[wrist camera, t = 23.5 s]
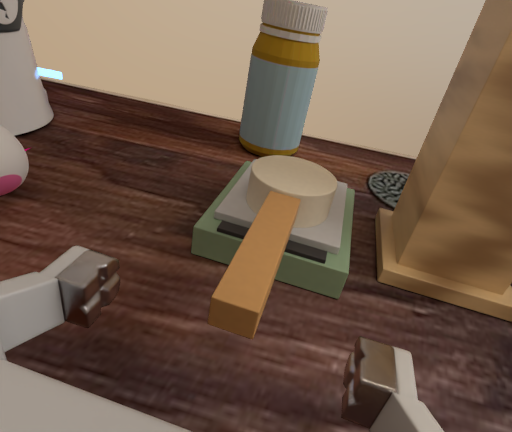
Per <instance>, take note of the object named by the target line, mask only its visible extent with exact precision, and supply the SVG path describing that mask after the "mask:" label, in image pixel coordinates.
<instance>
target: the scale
mask: <svg viewBox="0 0 512 432" xmlns="http://www.w3.org/2000/svg"><path fill="white" fill-rule="evenodd" d="M256 160H257V159H254V160H253V162H249V161H246V162H245V163H244V165H243V166H242V167H241V168H240V170H239V171H238V172H237V173H236V175H235V176H234V177H233V178H232V179H231V181H230V182H229V183H228V184H227V186H226V187H225V188H224V189H223V191H222V192H221V193H220V194H219V196H218V197H217V198H216V199H215V201H214V202H213V203H212V204H211V206H210V207H209V208H208V209H207V211H206V212H205V213H204V214H203V216H202V217H201V218H200V219H199V220H198V222H197V223H196V224H195V225H194V227H193V237H192V248H191V253H192V254H195V255H198V256H202V257H205V258H208V259H211V260H214V261H218V262H221V263H224V264H227V265H229V264H230V262H231V261H232V259H233V257H234V255H235V253H236V252H237V250H238V248H239V246H240V244H241V243H242V241H243V239H244V237H245V235H246V234H247V232H248V230H249V228H250V226H251V224H252V223H253V221H254V219H255V217H256V215H257V214H256V213H255V212H254V211H253V210H252V209H251V208H250V207H249V205H248V204H247V200H246V195H247V190H248V184H249V178H250V173H251V167H252V164H253V163H254V162H255V161H256ZM354 192H355V190H353V189H349V188H347V184H346V183H342V182H339V181H337V189H336V192H335V195H334V198H333V201H332V204H331V207H330V210H329V213H328V216H327V218H326V220H325V221H324V222H323V223H321V224H319V225H317V226H313V227H308V228H292V231H291V234H290V237H289V240H288V242H287V245H286V248H285V251H284V254H283V256H282V259H281V262H280V265H279V268H278V271H277V273H276V276H275V280H278V281H281V282H284V283H288V284H291V285H294V286H297V287H300V288H304V289H307V290H310V291H313V292H316V293H320V294H323V295H326V296H329V297H332V298H335V299H339V296H340V294H341V291H342V289H343V286H344V284H345V281H346V279H347V276H348V274H349V261H350V247H351V233H352V220H353V206H354Z"/></svg>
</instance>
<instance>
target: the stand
mask: <svg viewBox="0 0 512 432" xmlns="http://www.w3.org/2000/svg"><path fill="white" fill-rule="evenodd" d="M375 228H376V256H377V281H378V282H381V283H384V284H388V285H391V286H394V287H398V288H401V289H404V290H408V291H411V292H414V293H417V294H421V295H424V296H427V297H431V298H434V299H437V300H441V301H444V302H447V303H451V304H454V305H457V306H460V307H464V308H467V309H470V310H474V311H477V312H480V313H484V314H487V315H490V316H494V317H497V318H500V319H503V320H507V321H510V322H512V287H511V285H510V284H511V283H512V0H486V1H485V3H484V6H483V8H482V10H481V13H480V15H479V17H478V19H477V22H476V24H475V26H474V29H473V31H472V33H471V35H470V38H469V40H468V42H467V45H466V47H465V49H464V51H463V54H462V56H461V58H460V61H459V63H458V65H457V68H456V70H455V72H454V75H453V77H452V79H451V81H450V84H449V86H448V89H447V90H446V93H445V95H444V97H443V100H442V102H441V104H440V107H439V109H438V111H437V113H436V116H435V118H434V120H433V123H432V125H431V127H430V129H429V132H428V134H427V136H426V139H425V141H424V143H423V145H422V148H421V150H420V152H419V154H418V157H417V159H416V161H415V164H414V166H413V168H412V170H411V173H410V175H409V177H408V180H407V182H406V184H405V186H404V189H403V191H402V193H401V196H400V198H399V200H398V203H397V205H396V207H395V209H394V212H393V211H390V210H386V209H382V208H379V210H378V213H377V215H376V217H375Z"/></svg>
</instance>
